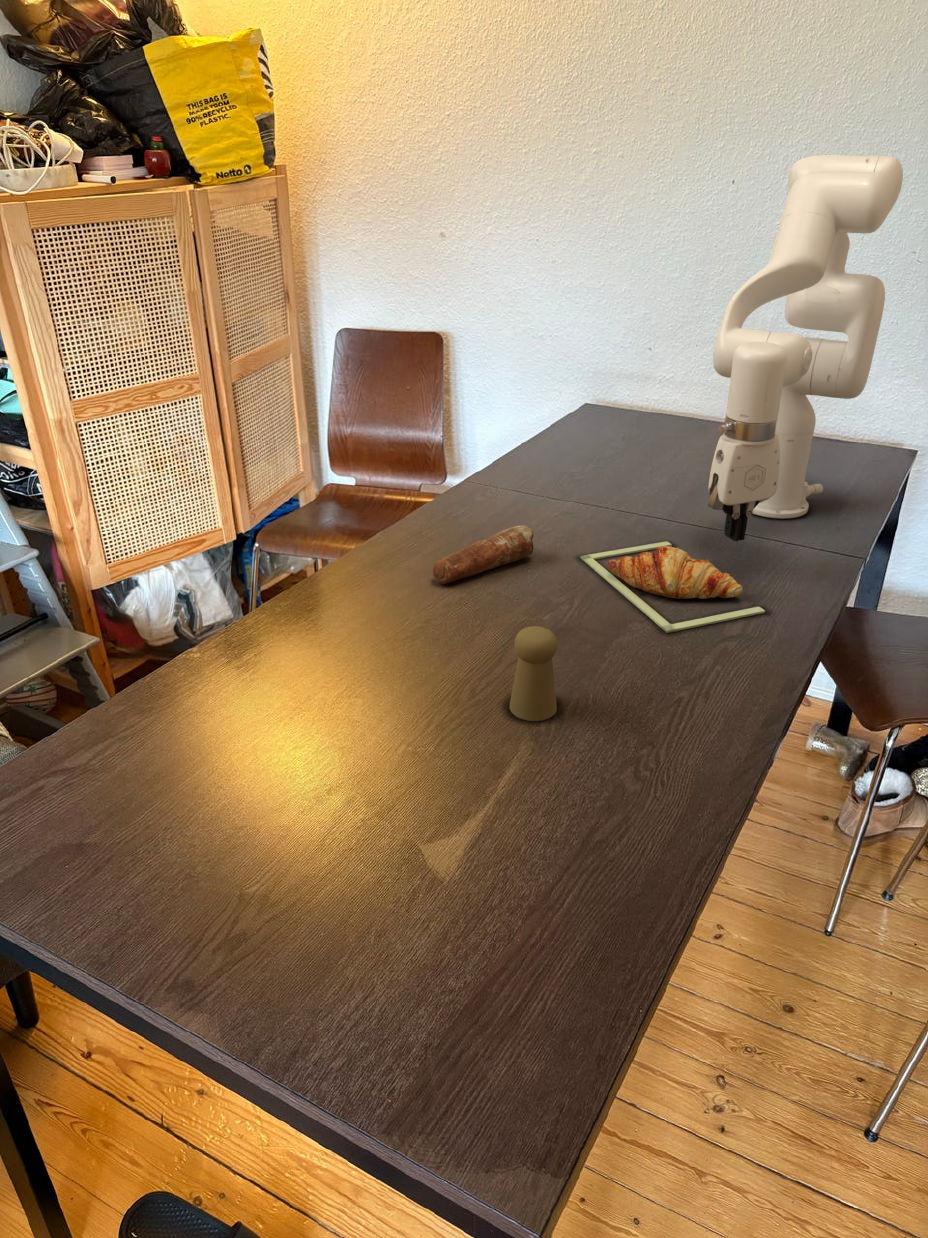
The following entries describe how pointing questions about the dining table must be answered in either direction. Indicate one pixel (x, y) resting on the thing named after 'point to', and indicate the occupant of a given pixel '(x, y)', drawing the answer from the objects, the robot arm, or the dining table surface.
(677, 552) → the croissant
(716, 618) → the frame
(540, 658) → the tan game pawn
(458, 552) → the bread
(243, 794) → the dining table surface
